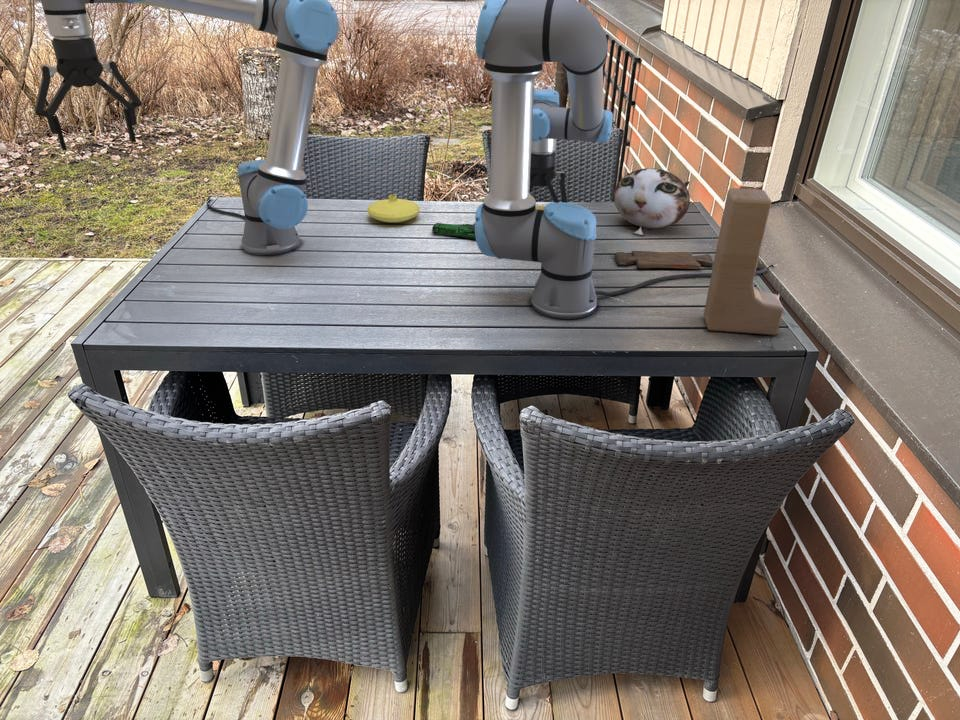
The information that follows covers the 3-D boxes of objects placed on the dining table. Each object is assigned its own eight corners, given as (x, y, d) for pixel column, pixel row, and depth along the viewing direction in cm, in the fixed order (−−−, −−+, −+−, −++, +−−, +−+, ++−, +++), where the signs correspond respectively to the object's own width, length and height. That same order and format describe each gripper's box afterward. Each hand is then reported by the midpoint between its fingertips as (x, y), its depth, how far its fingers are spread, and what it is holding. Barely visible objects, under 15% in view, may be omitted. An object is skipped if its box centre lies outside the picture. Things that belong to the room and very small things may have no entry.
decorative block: (777, 336, 155) (812, 202, 140) (707, 331, 157) (733, 198, 142) (770, 320, 162) (802, 191, 146) (702, 315, 163) (727, 187, 148)
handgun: (502, 218, 210) (482, 233, 198) (502, 228, 212) (482, 243, 199) (452, 211, 216) (430, 225, 203) (452, 221, 217) (430, 235, 205)
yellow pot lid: (391, 206, 226) (390, 184, 222) (430, 216, 218) (430, 194, 214) (356, 220, 215) (355, 197, 211) (396, 231, 207) (395, 207, 203)
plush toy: (594, 216, 205) (617, 152, 207) (611, 239, 221) (631, 180, 223) (669, 229, 195) (692, 162, 196) (681, 253, 210) (702, 191, 212)
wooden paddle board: (717, 272, 186) (707, 257, 194) (718, 266, 185) (709, 251, 193) (618, 268, 186) (613, 254, 195) (619, 262, 185) (613, 248, 194)
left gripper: (1, 43, 134) (35, 156, 145) (142, 35, 146) (164, 141, 157) (-2, 38, 140) (31, 148, 150) (134, 32, 152) (156, 134, 162)
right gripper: (578, 147, 195) (571, 226, 206) (500, 147, 193) (498, 227, 205) (584, 154, 188) (576, 235, 200) (503, 155, 187) (500, 237, 198)
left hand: (99, 144), depth 154 cm, fingers open, 13 cm apart
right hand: (537, 231), depth 202 cm, fingers closed on canister, 9 cm apart
